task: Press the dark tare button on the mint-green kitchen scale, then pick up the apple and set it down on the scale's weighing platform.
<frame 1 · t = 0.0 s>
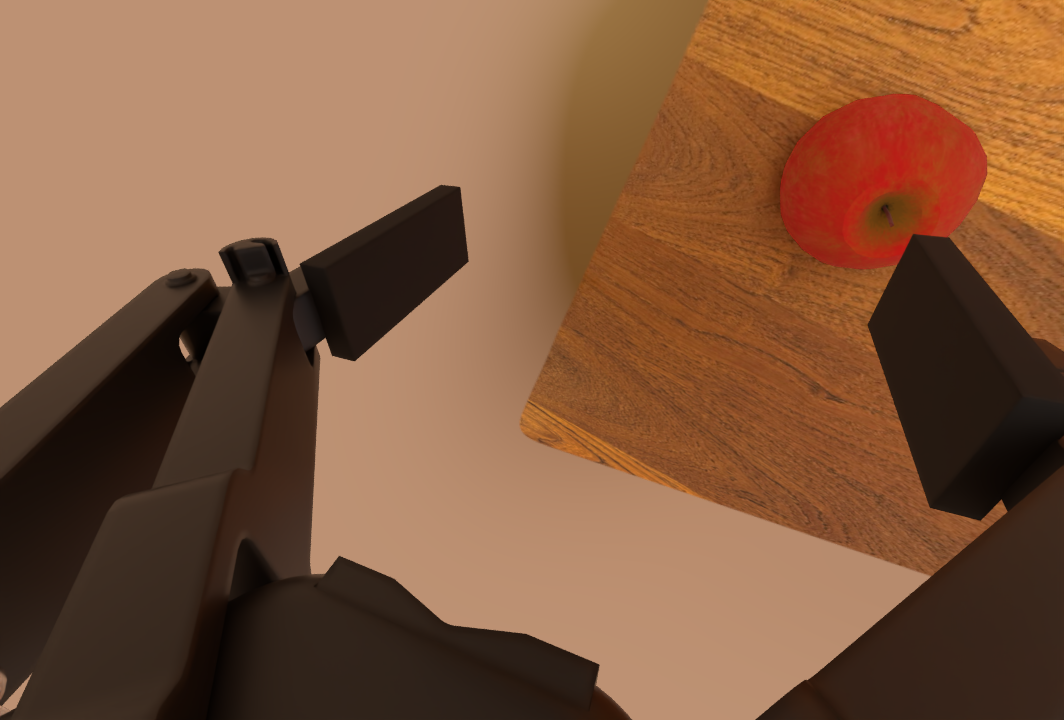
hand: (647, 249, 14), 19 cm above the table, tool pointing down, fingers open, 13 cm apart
apple: (854, 163, 27), on the table
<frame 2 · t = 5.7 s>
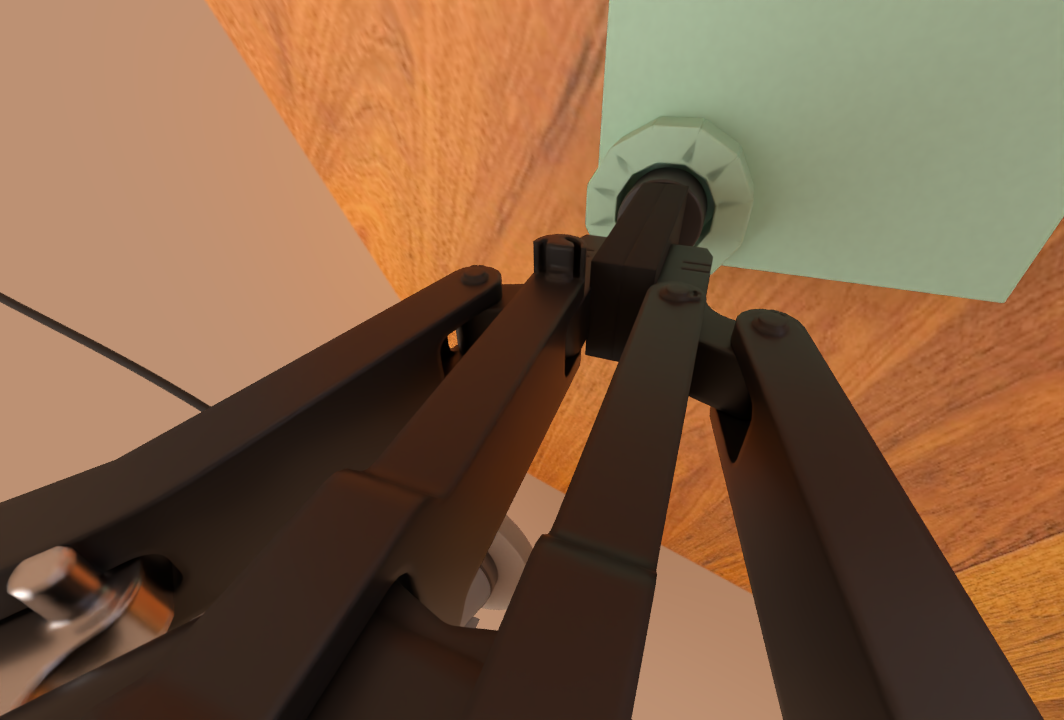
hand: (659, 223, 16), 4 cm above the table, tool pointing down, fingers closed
scale: (829, 81, 15), on the table
tare button: (662, 215, 17), point 3 cm above the table, slide at -0.3 cm, touching gripper
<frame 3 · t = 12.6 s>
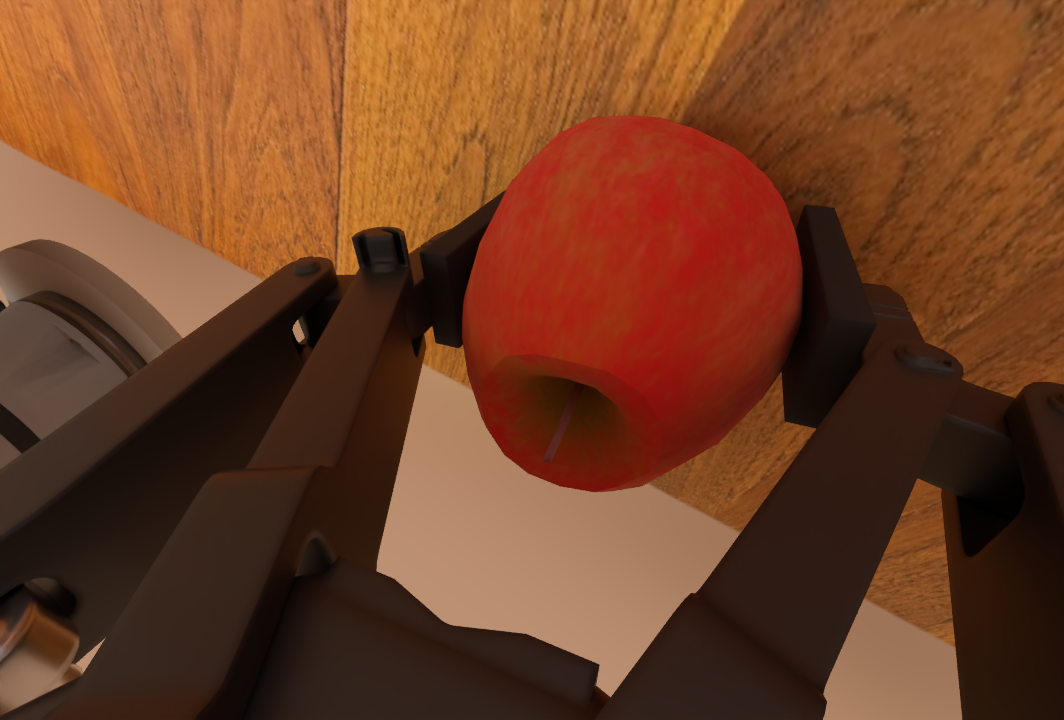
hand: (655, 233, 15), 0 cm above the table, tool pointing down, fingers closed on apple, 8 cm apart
apple: (658, 228, 16), on the table, touching gripper
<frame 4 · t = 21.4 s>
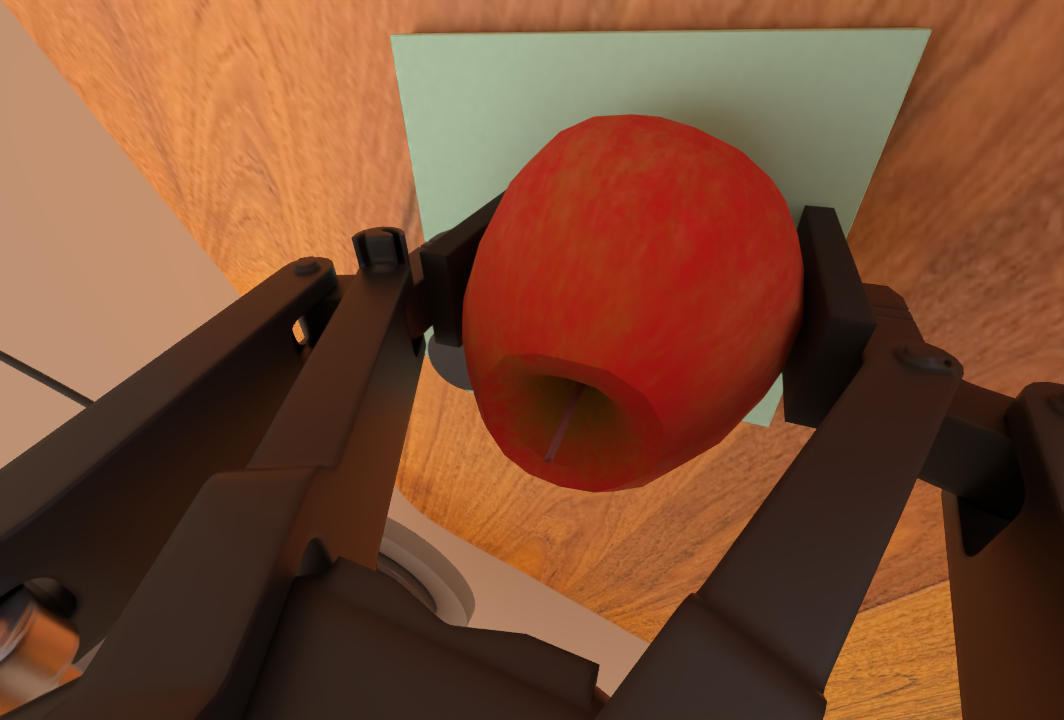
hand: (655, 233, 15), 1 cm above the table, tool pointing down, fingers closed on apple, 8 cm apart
apple: (658, 227, 16), point 1 cm above the table, touching gripper, scale
scale: (605, 238, 18), on the table
tare button: (469, 349, 19), point 3 cm above the table, slide at 0.1 cm
when the fingers open (1 cm above the table, at t = 21.5 s): apple stays where it is, resting on scale.
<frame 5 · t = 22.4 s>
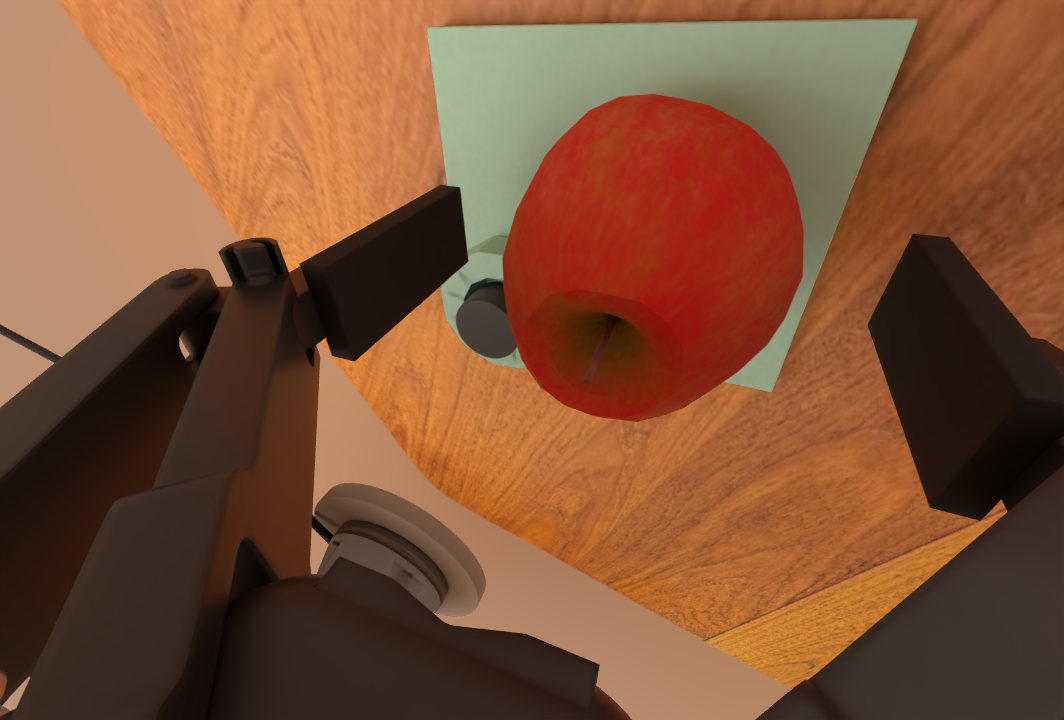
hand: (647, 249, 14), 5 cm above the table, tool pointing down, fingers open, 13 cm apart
apple: (671, 204, 17), point 1 cm above the table, touching scale
scale: (621, 216, 19), on the table
tare button: (494, 320, 20), point 3 cm above the table, slide at 0.1 cm
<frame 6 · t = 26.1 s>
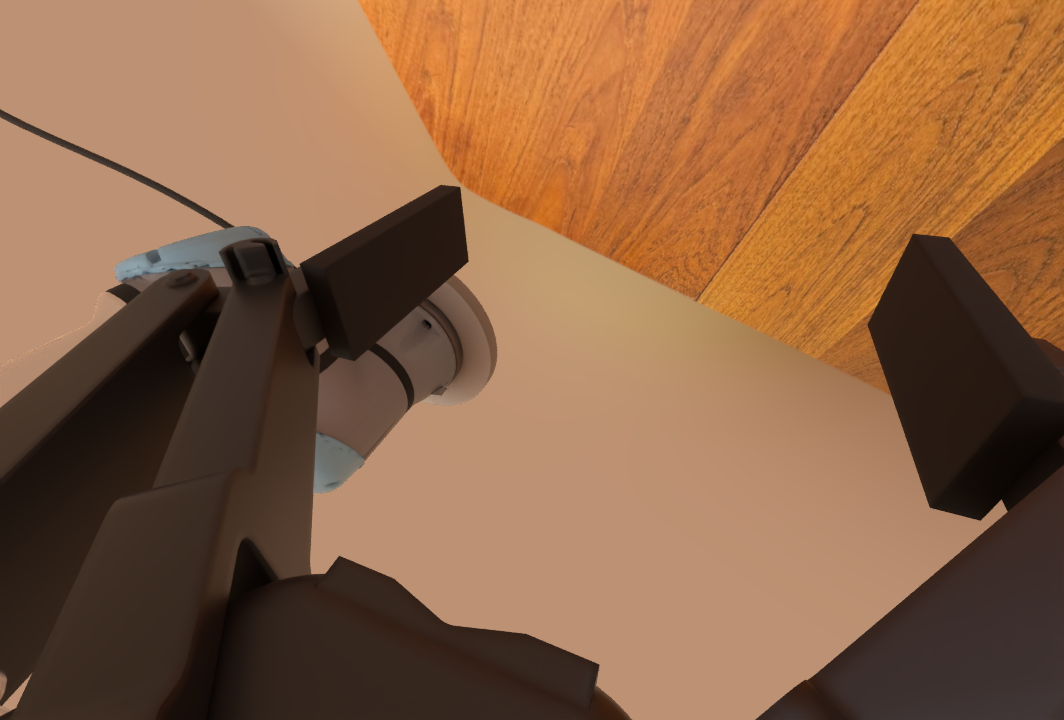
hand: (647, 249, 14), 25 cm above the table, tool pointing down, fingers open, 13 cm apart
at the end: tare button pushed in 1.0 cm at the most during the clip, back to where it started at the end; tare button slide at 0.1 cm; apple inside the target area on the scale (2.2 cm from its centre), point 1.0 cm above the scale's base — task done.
